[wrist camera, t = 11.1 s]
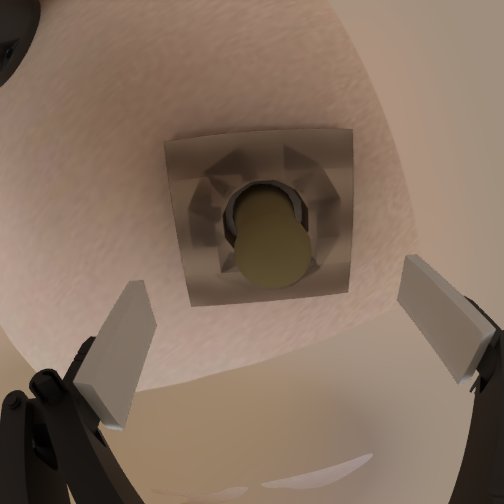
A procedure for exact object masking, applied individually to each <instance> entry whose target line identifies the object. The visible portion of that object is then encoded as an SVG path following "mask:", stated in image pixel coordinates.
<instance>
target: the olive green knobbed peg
mask: <svg viewBox="0 0 504 504" xmlns="http://www.w3.org/2000/svg"><path fill="white" fill-rule="evenodd" d="M232 217H233V221H234V224H235V227H236V230H237V233H238V235H237V238H236V240H235V246H234V258H235V261H236V264H237V267H238V269H239V271H240V272H241V273H242V275H243V276H244V277H245V279H247V280H248V281H249V282H251V283H252V284H254V285H256V286H259V287H262V288H265V289H278V288H282V287H286V286H289V285H290V284H292V283H294V282H296V281H297V280H298V279H299V278H300V277H301V276H302V275H303V274H304V273H305V272H306V270H307V268H308V266H309V264H310V260H311V253H312V247H311V242H310V237H309V235H308V234H307V232H306V230H305V229H304V227H303V226H302V224H300V223H299V222H298V221H297V220H296V219H295V213H294V208H293V204H292V201H291V199H290V198H289V196H288V194H287V193H285V192H284V191H283V190H282V189H281V188H279V187H277V186H274V185H272V184H257V185H253V186H250V187H249V188H247V189H245V190H244V191H242V193H241V194H240V195H239V196H238V197H237V199H236V201H235V204H234V206H233V216H232Z"/></svg>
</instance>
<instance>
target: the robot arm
mask: <svg viewBox="0 0 504 504" xmlns="http://www.w3.org/2000/svg"><path fill="white" fill-rule="evenodd" d="M39 19H40V3H39V0H0V87H1V86H2V85H3V84H4V83H5V82H6V81H7V80H8V79H9V78H10V77H11V76H12V74H13V73H14V72H15V70H16V69H17V68H18V66H19V65H20V63H21V61H22V60H23V58H24V56H25V55H26V53H27V51H28V49H29V47H30V45H31V43H32V41H33V38H34V36H35V33H36V30H37V27H38V23H39ZM397 301H398V302H399V304H400V305H401V306H402V307H403V309H404V310H405V311H406V313H407V314H408V315H409V316H410V318H411V319H412V320H413V322H414V323H415V324H416V326H417V327H418V328H419V330H420V331H421V332H422V334H423V335H424V336H425V338H426V339H427V341H428V342H429V343H430V345H431V346H432V347H433V349H434V350H435V352H436V353H437V354H438V356H439V357H440V359H441V360H442V361H443V363H444V364H445V366H446V367H447V369H448V370H449V372H450V373H451V375H452V376H453V378H454V379H455V381H456V382H457V384H458V385H459V384H461V383H464V382H466V381H468V380H470V379H471V377H472V376H473V374H474V372H475V370H477V371H478V372H479V376H478V377H477V379H476V381H475V382H474V384H473V386H472V387H471V389H470V392H472V391H473V389H474V388H475V387H476V391H475V399H474V406H473V413H472V419H471V425H470V430H469V435H468V440H467V444H466V448H465V452H464V457H463V460H462V464H461V467H460V471H459V474H458V477H457V481H456V484H455V487H454V490H453V493H452V496H451V498H450V501H449V503H448V504H504V330H503V331H502V330H501V329H500V328H499V327H498V325H497V324H496V323H495V322H494V321H493V320H492V319H491V318H490V317H489V316H488V315H487V314H486V313H484V311H483V310H482V309H481V308H479V306H478V305H477V304H476V303H475V302H474V301H473V300H471V299H469V298H467V297H465V296H463V295H462V294H461V293H459V292H458V291H457V290H456V289H455V288H454V287H453V286H452V285H451V284H450V283H449V282H448V281H447V280H446V279H444V278H443V277H442V276H441V275H440V274H439V273H438V272H437V271H435V270H434V269H433V268H432V267H431V266H430V265H429V264H427V263H426V262H425V261H424V260H423V259H422V258H420V257H419V256H418V255H417V254H415V255H406V256H405V260H404V266H403V272H402V277H401V283H400V288H399V293H398V298H397ZM156 327H157V324H156V321H155V318H154V314H153V311H152V308H151V305H150V301H149V298H148V295H147V291H146V288H145V284H144V281H143V280H138V281H129V283H128V284H127V286H126V287H125V289H124V291H123V292H122V294H121V296H120V297H119V299H118V300H117V302H116V304H115V305H114V307H113V309H112V311H111V312H110V314H109V316H108V317H107V319H106V321H105V323H104V324H103V326H102V328H101V330H100V331H99V333H98V335H97V337H92V336H91V337H89V338H88V339H87V340H86V341H85V342H84V343H83V344H82V346H81V347H80V349H79V351H78V354H76V356H75V358H74V361H73V362H72V363H71V365H70V367H69V369H68V371H67V373H66V375H65V376H64V378H63V380H62V379H61V378H60V376H59V375H58V373H57V371H55V370H53V369H44V370H41V371H39V372H38V373H36V374H35V375H34V376H33V377H32V379H31V381H30V383H29V389H30V390H31V392H32V393H33V394H34V396H35V397H36V398H33V399H28V397H27V396H26V395H25V393H24V392H22V391H20V390H15V391H12V392H10V393H9V394H8V395H7V396H6V397H5V399H4V401H3V404H2V410H1V418H0V504H71V503H70V498H69V493H68V488H67V485H68V487H69V489H70V492H71V494H72V496H73V498H74V500H75V502H76V504H145V503H144V502H143V501H142V499H141V498H140V496H139V495H138V493H137V492H136V490H135V489H134V487H133V486H132V485H131V483H130V481H129V480H128V478H127V477H126V475H125V473H124V472H123V470H122V469H121V467H120V465H119V464H118V462H117V460H116V459H115V457H114V455H113V453H112V452H111V450H110V448H109V446H108V444H107V442H106V440H105V438H104V436H103V435H102V433H101V431H100V430H99V429H98V425H99V422H100V420H101V422H102V423H103V424H104V425H105V426H106V428H110V429H116V430H123V431H124V428H125V424H126V421H127V417H128V414H129V410H130V407H131V404H132V400H133V397H134V393H135V390H136V387H137V384H138V381H139V377H140V374H141V371H142V368H143V365H144V362H145V359H146V356H147V353H148V350H149V347H150V344H151V341H152V338H153V335H154V332H155V329H156Z"/></svg>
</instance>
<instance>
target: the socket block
mask: <svg viewBox="0 0 504 504" xmlns="http://www.w3.org/2000/svg"><path fill="white" fill-rule="evenodd" d="M164 148H165V156H166V164H167V172H168V179H169V187H170V194H171V200H172V207H173V213H174V219H175V226H176V231H177V237H178V243H179V248H180V254H181V259H182V264H183V269H184V274H185V279H186V284H187V289H188V294H189V299H190V303H191V307H194V306H210V305H225V304H239V303H252V302H263V301H274V300H285V299H295V298H305V297H314V296H323V295H331V294H339V293H347V292H348V288H349V277H350V264H351V249H352V230H353V195H354V167H353V133H352V129H280V130H261V131H247V132H236V133H225V134H216V135H208V136H200V137H192V138H185V139H178V140H172V141H166V142H164ZM264 180H277V181H279V182H281V183H283V184H285V185H287V186H289V187H291V188H293V189H294V190H295V192H296V193H297V195H298V196H299V198H300V199H301V201H302V222H301V224H302V226H303V227H304V229H305V230H306V232H307V234H308V235H309V237H310V242H311V247H312V253H311V260H310V264H309V266H308V268H307V270H306V272H305V273H304V274H303V275H302V276H301V277H300V278H299V279H298V280H297V281H296V282H294V283H292V284H290V285H289V286H286V287H282V288H278V289H265V288H262V287H259V286H256V285H254V284H252V283H251V282H249V281H248V280H247V279H245V277H244V276H243V275H242V273H241V272H240V271H239V269H238V267H237V264H236V261H235V258H234V246H235V240H236V239H235V238H234V236H233V235H232V234H231V232H230V231H229V230H228V228H227V227H226V219H225V208H226V206H227V204H228V202H229V200H230V198H231V196H232V194H234V193H235V192H237V191H238V190H240V189H241V188H243V187H244V186H246V185H247V184H248V183H250V182H251V181H264Z"/></svg>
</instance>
